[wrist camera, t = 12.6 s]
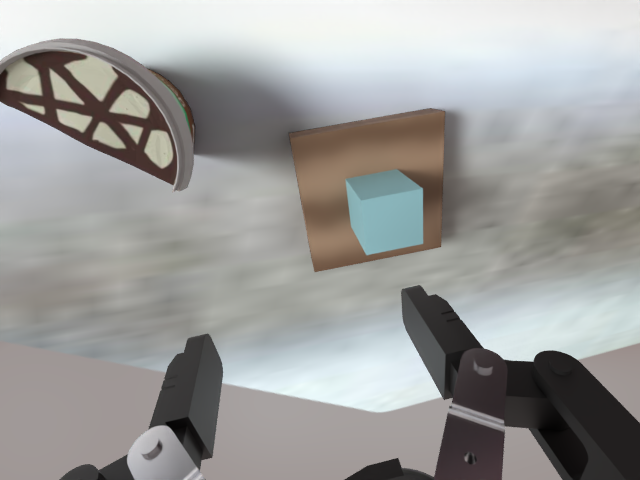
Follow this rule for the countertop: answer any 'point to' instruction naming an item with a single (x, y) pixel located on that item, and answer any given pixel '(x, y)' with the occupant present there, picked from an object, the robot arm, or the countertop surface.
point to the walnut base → (363, 159)
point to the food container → (104, 104)
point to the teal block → (385, 211)
